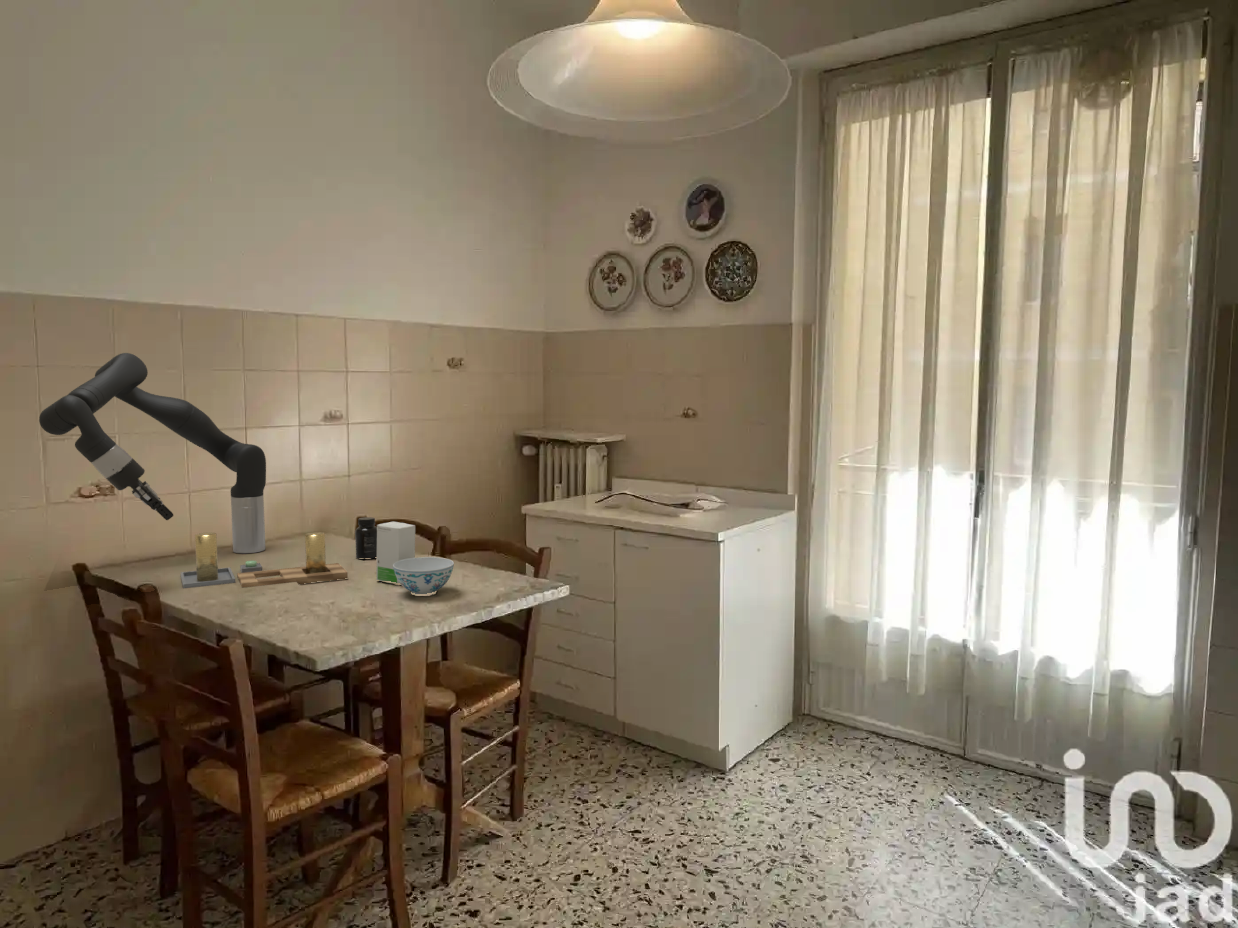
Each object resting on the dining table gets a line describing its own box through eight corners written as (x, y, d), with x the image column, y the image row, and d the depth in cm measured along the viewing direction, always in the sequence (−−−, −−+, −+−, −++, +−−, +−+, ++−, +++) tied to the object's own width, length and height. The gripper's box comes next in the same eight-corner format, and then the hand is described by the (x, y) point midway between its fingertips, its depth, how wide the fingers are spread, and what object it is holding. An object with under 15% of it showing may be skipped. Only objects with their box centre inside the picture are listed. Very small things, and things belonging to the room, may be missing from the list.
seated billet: (305, 576, 224) (303, 533, 222) (324, 574, 226) (322, 531, 225) (308, 580, 219) (306, 536, 218) (327, 578, 222) (326, 534, 221)
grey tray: (180, 579, 219) (180, 572, 218) (230, 574, 225) (230, 567, 225) (183, 591, 207) (183, 584, 206) (235, 586, 213) (235, 578, 213)
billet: (196, 578, 217) (194, 533, 215) (217, 576, 219) (215, 531, 218) (197, 582, 212) (195, 536, 211) (219, 580, 215) (217, 535, 213)
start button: (245, 565, 225) (244, 561, 225) (256, 564, 226) (255, 560, 226) (246, 567, 223) (246, 563, 222) (257, 566, 224) (257, 562, 224)
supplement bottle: (383, 555, 250) (382, 516, 249) (374, 560, 244) (373, 520, 242) (361, 554, 251) (360, 516, 250) (351, 559, 244) (351, 520, 243)
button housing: (240, 573, 226) (240, 565, 225) (260, 571, 228) (259, 563, 228) (242, 577, 221) (242, 568, 221) (262, 575, 224) (262, 566, 224)
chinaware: (383, 591, 209) (383, 562, 209) (436, 582, 219) (436, 554, 218) (410, 604, 198) (409, 573, 197) (464, 594, 208) (464, 564, 207)
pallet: (237, 580, 218) (237, 573, 218) (338, 569, 231) (338, 562, 231) (242, 591, 208) (242, 583, 208) (347, 579, 221) (347, 572, 221)
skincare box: (375, 582, 219) (374, 524, 217) (393, 576, 225) (392, 520, 223) (399, 586, 215) (398, 527, 213) (416, 580, 221) (416, 523, 219)
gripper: (104, 473, 205) (156, 522, 213) (104, 480, 194) (159, 532, 202) (130, 454, 208) (180, 503, 215) (132, 460, 197) (185, 512, 204)
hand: (170, 517), depth 208 cm, fingers closed
